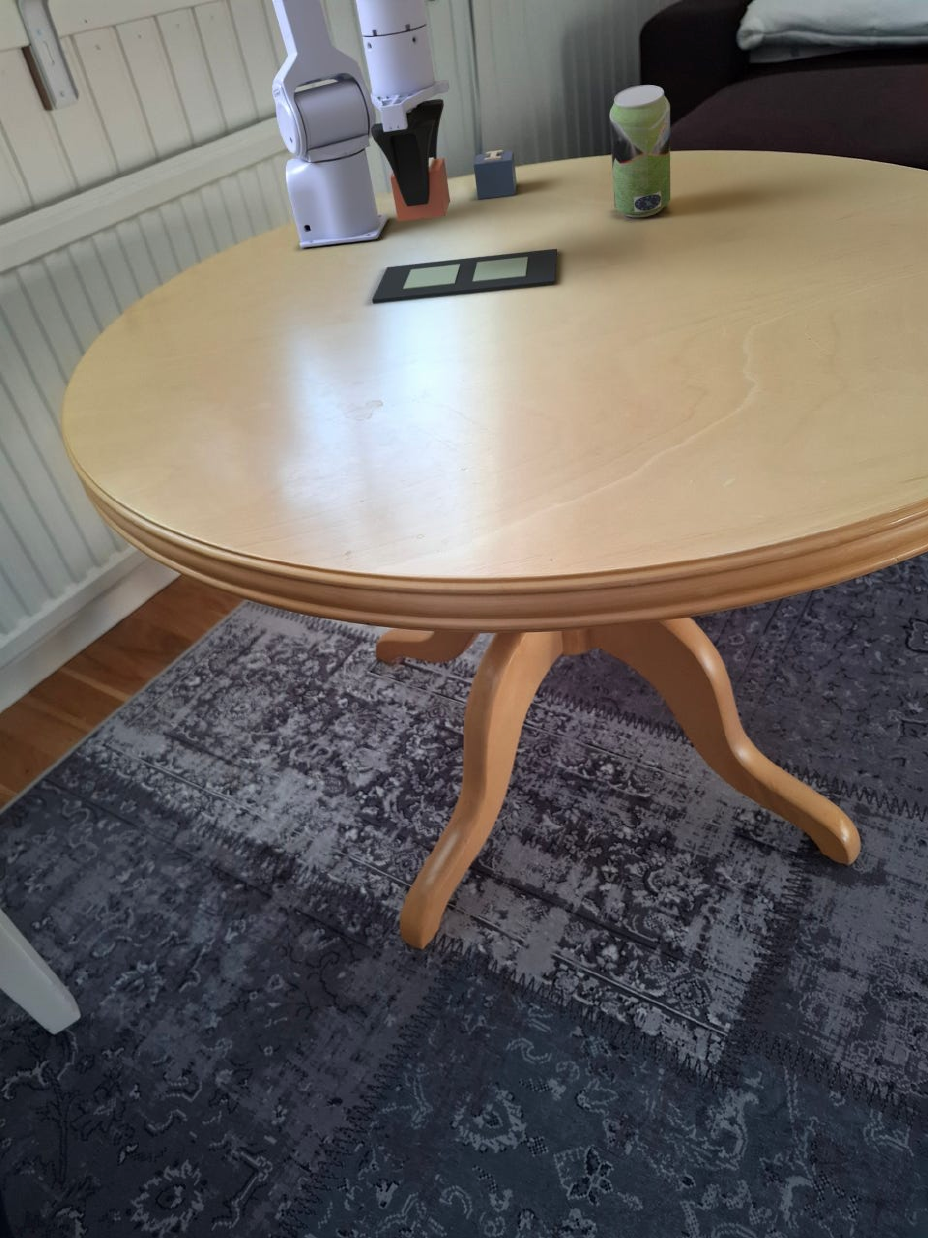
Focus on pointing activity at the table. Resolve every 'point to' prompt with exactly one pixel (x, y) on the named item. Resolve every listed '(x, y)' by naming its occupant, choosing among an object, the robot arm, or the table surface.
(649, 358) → the table surface
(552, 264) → the word mat
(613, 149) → the beverage can
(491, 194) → the blue cube
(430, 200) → the red letter block
